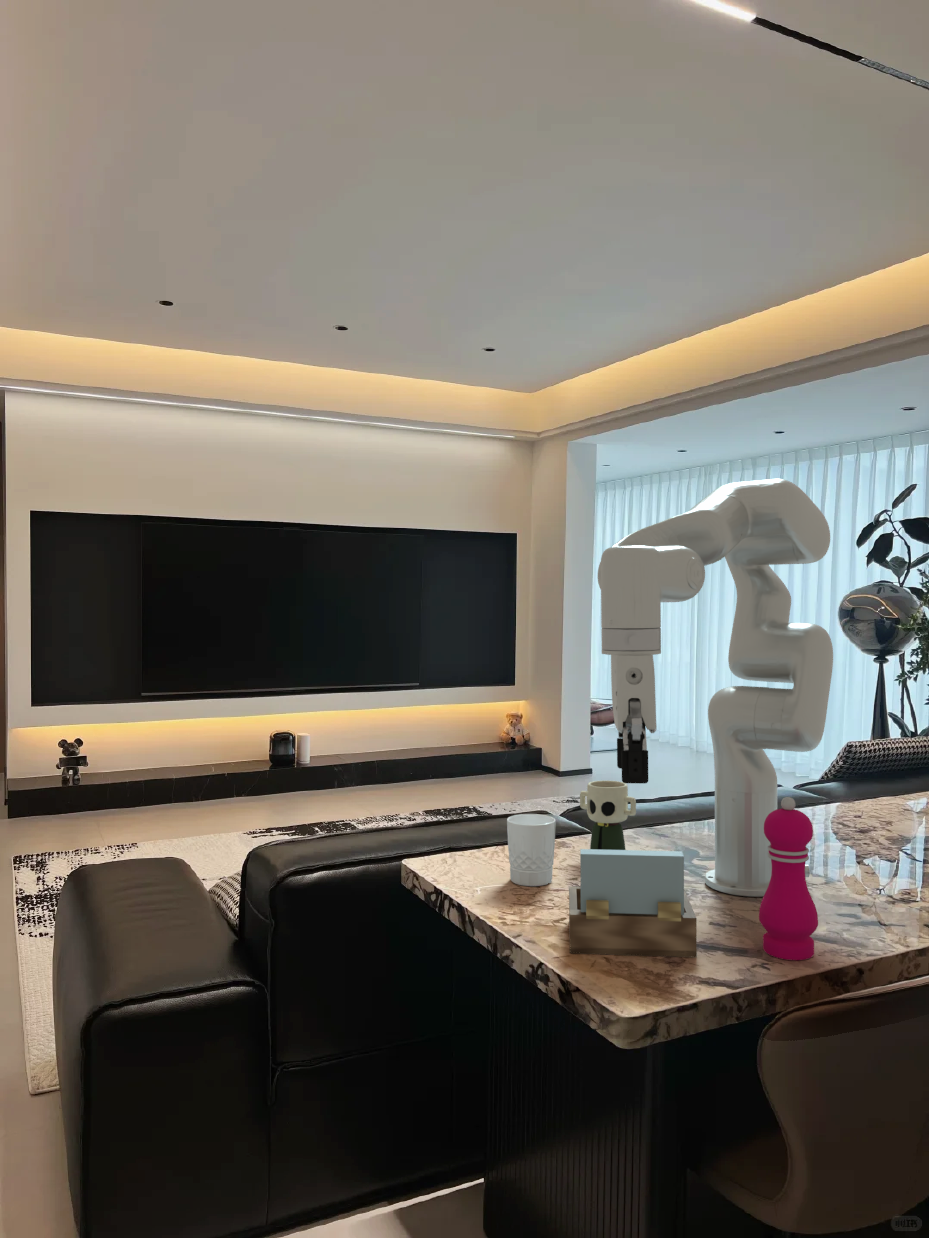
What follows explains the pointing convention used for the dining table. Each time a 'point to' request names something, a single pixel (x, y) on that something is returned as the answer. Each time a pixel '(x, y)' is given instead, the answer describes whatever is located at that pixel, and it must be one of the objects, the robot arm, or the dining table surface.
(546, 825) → the white cup
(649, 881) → the door
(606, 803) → the character mug
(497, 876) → the dining table surface
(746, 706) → the robot arm
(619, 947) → the carcass
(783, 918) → the pepper mill
